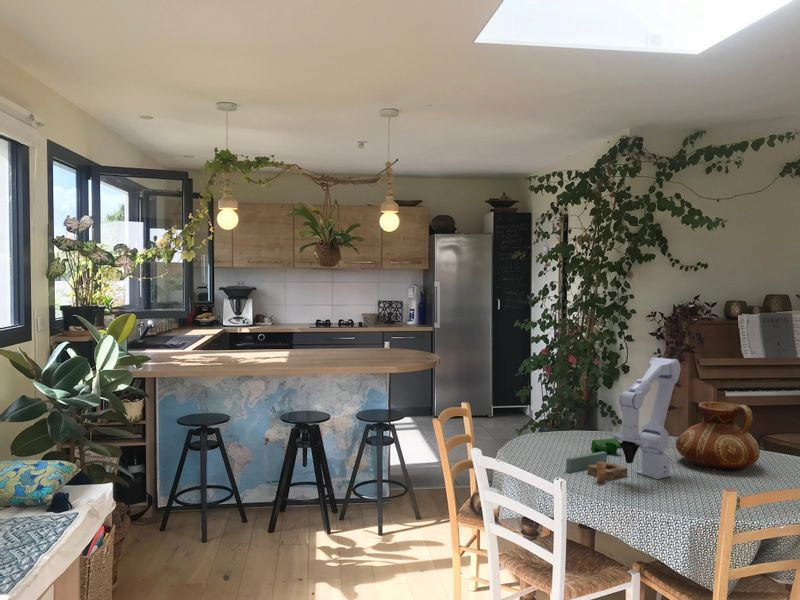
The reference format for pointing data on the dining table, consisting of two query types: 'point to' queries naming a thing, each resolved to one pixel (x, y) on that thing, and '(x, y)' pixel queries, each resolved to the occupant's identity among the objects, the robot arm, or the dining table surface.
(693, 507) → the dining table surface
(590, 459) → the wall
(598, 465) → the dowel
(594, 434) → the dining table surface
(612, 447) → the clamp
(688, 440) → the jug
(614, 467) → the square frame
